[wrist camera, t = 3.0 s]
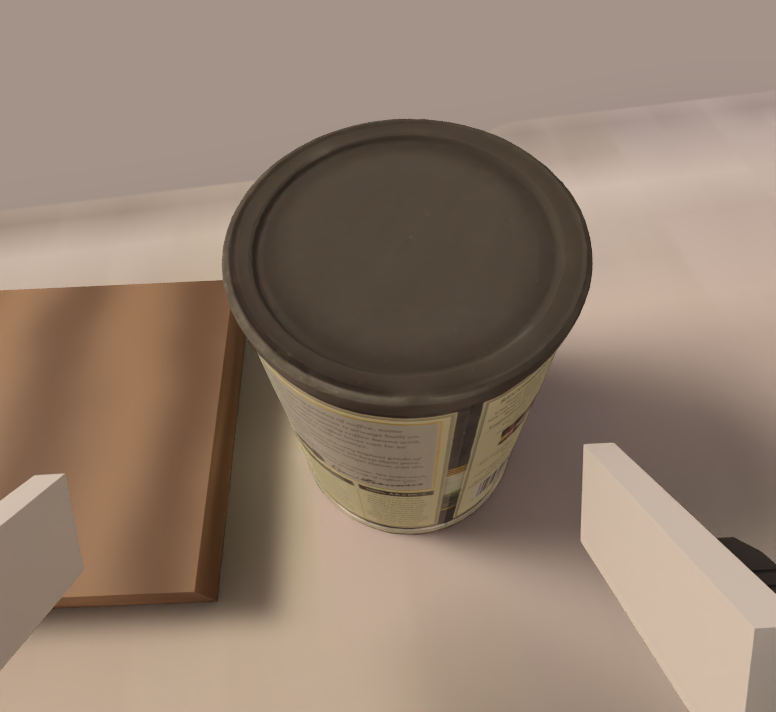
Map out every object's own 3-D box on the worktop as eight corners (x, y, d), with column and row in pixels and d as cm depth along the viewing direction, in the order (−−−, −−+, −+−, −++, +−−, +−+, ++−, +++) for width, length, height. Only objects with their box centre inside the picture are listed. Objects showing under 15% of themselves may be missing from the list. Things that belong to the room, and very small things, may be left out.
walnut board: (248, 312, 32) (233, 279, 29) (217, 601, 24) (194, 591, 22) (-17, 324, 32) (-55, 293, 29) (-130, 615, 24) (-194, 608, 22)
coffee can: (333, 327, 31) (285, 98, 19) (521, 360, 30) (601, 136, 17) (274, 510, 26) (158, 361, 14) (496, 559, 25) (584, 442, 13)
